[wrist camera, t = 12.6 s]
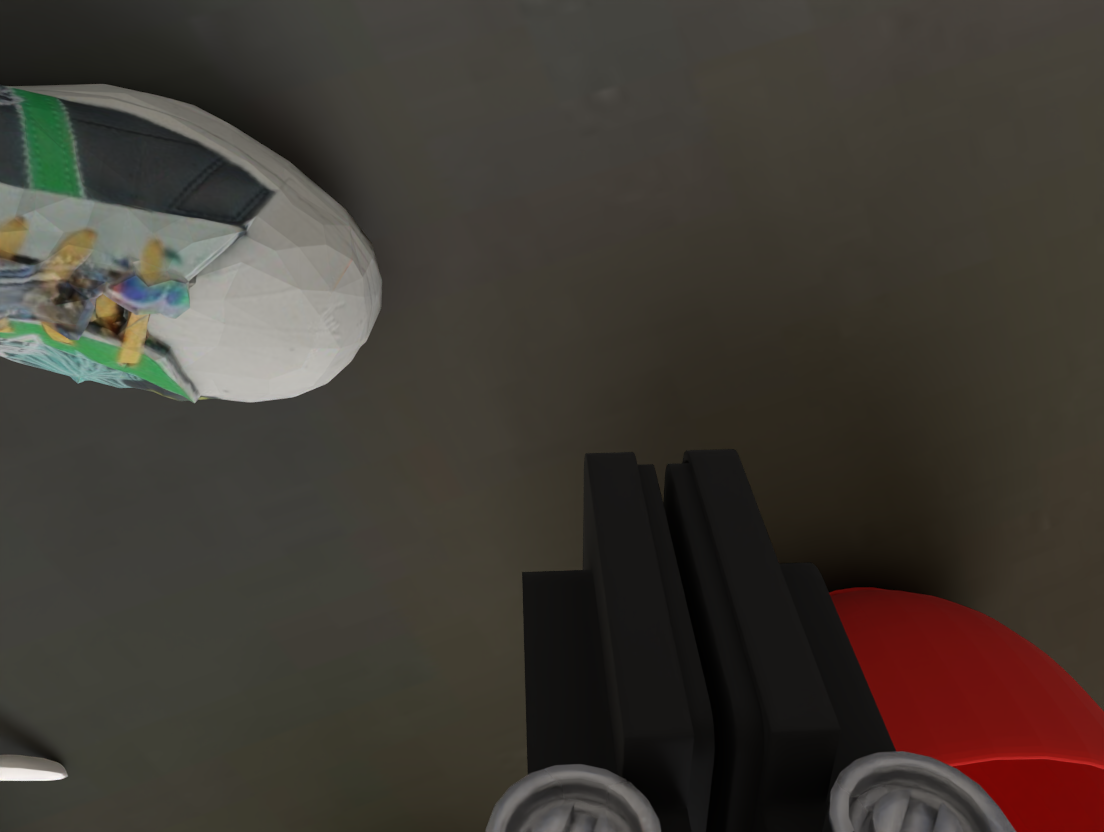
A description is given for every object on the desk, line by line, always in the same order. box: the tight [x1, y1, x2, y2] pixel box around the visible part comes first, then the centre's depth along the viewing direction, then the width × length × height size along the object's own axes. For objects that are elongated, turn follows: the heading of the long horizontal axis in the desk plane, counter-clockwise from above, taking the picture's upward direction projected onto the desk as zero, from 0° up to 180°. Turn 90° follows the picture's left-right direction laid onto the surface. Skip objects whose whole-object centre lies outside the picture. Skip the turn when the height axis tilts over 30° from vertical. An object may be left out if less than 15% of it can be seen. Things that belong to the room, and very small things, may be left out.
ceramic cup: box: [829, 587, 1104, 832], centre depth 32 cm, size 13×17×10 cm
